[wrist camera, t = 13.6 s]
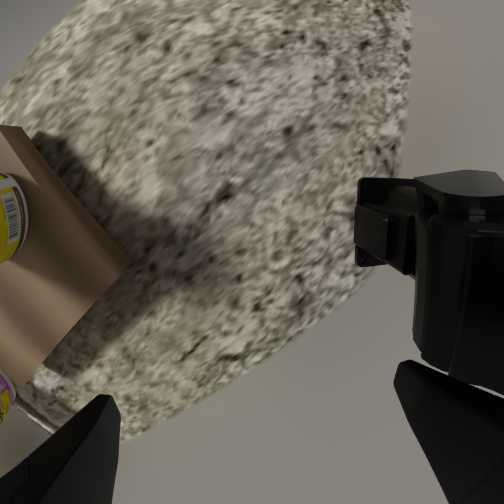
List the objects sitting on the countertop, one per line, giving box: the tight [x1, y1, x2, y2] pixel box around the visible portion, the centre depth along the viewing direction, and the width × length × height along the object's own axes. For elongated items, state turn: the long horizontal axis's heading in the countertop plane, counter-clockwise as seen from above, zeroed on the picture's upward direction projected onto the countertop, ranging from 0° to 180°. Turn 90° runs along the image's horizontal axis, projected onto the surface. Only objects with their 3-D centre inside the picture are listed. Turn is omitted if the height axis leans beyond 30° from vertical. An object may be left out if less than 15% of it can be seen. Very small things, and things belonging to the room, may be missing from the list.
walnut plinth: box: [0, 125, 132, 389], centre depth 16 cm, size 16×13×4 cm
